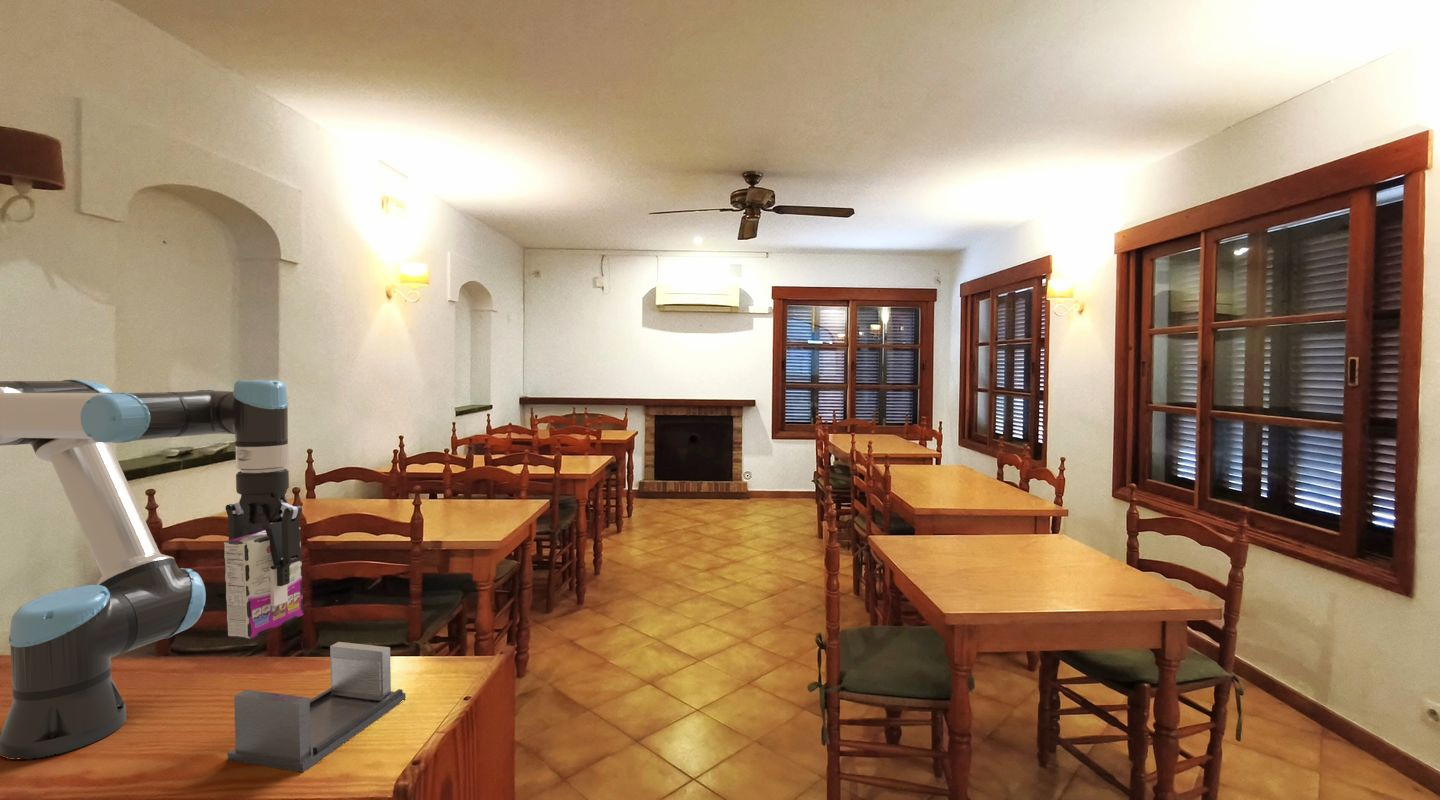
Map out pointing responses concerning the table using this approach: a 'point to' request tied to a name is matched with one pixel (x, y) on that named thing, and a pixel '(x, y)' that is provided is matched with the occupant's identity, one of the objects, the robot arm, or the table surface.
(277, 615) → the candy bar box
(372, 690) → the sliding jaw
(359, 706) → the vise
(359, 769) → the table surface
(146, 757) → the table surface
